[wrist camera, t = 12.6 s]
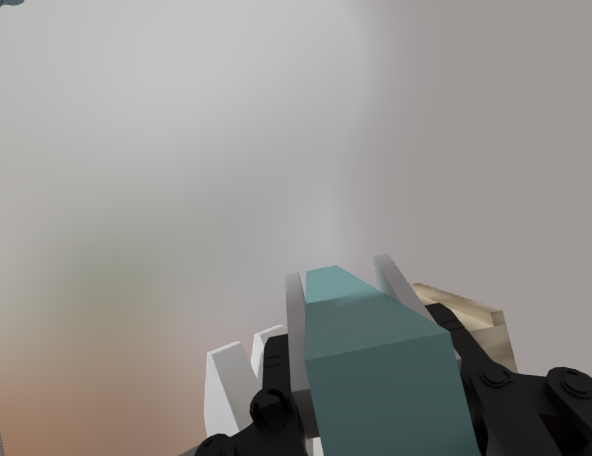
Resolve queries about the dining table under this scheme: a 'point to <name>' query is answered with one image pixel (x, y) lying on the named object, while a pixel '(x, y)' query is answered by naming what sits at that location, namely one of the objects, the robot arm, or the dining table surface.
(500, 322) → the stand
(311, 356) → the bar
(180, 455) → the dining table surface
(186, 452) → the dining table surface
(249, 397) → the white slotted block
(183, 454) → the dining table surface
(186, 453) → the dining table surface
